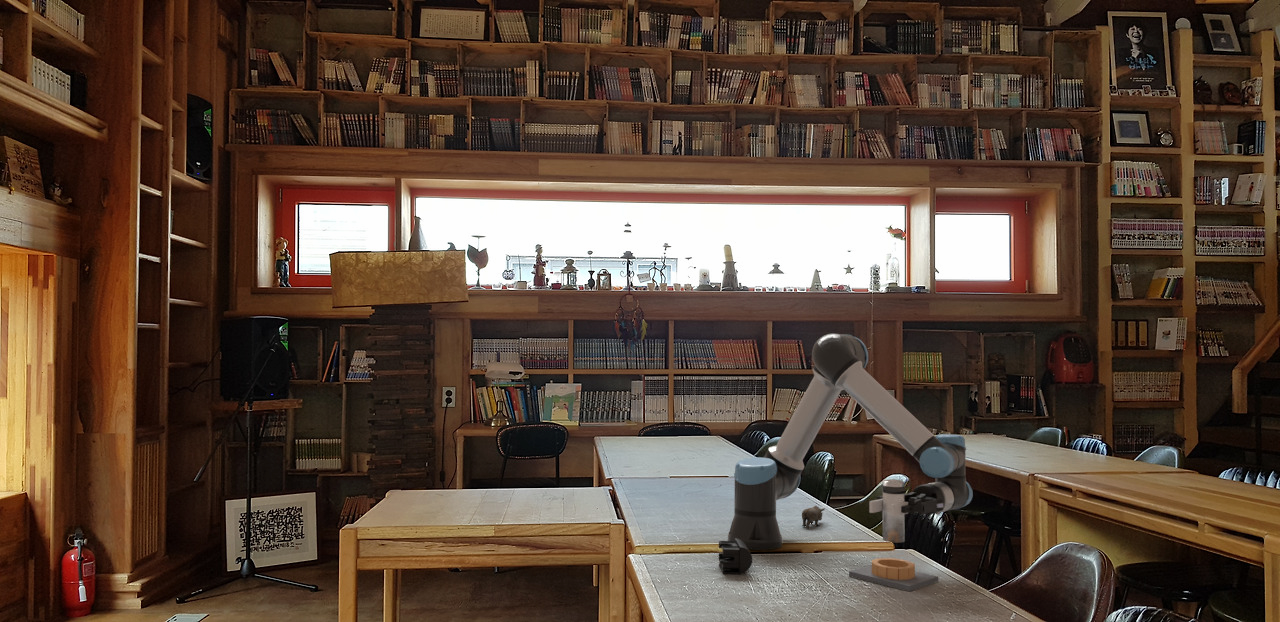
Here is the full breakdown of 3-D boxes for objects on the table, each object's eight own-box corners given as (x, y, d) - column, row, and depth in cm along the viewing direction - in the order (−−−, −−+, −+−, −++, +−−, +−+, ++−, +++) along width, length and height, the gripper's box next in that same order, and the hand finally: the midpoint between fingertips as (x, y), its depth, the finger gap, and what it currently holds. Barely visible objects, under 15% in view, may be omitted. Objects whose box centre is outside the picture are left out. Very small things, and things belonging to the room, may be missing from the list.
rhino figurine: (828, 523, 259) (829, 504, 259) (810, 529, 248) (811, 510, 248) (816, 521, 261) (817, 502, 262) (798, 528, 250) (798, 508, 251)
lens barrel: (878, 539, 194) (877, 480, 195) (889, 536, 197) (889, 478, 198) (897, 543, 190) (897, 483, 191) (909, 540, 194) (908, 481, 194)
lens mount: (848, 576, 195) (848, 560, 195) (878, 567, 204) (878, 552, 204) (909, 591, 183) (909, 574, 183) (938, 581, 192) (938, 565, 192)
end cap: (752, 575, 194) (752, 547, 195) (723, 575, 194) (723, 546, 195) (746, 565, 204) (746, 538, 205) (718, 564, 204) (718, 537, 205)
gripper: (965, 519, 199) (916, 531, 184) (899, 508, 213) (848, 518, 197) (965, 488, 200) (916, 498, 184) (899, 479, 213) (848, 487, 198)
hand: (881, 508), depth 191 cm, fingers closed on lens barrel, 5 cm apart
